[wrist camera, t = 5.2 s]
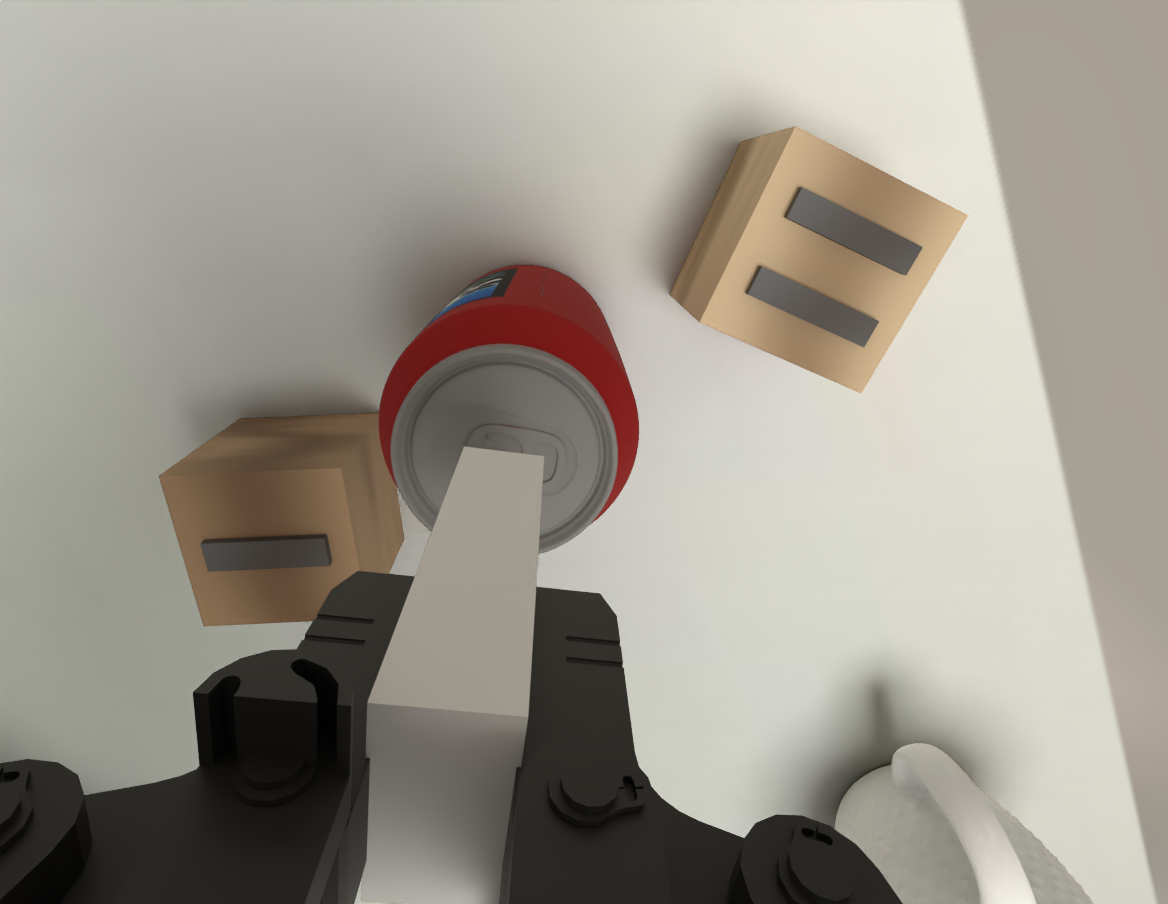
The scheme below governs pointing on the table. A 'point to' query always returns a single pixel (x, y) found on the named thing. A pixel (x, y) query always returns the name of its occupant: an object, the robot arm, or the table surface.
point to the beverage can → (514, 397)
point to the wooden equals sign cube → (813, 255)
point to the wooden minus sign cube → (283, 515)
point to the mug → (948, 837)
